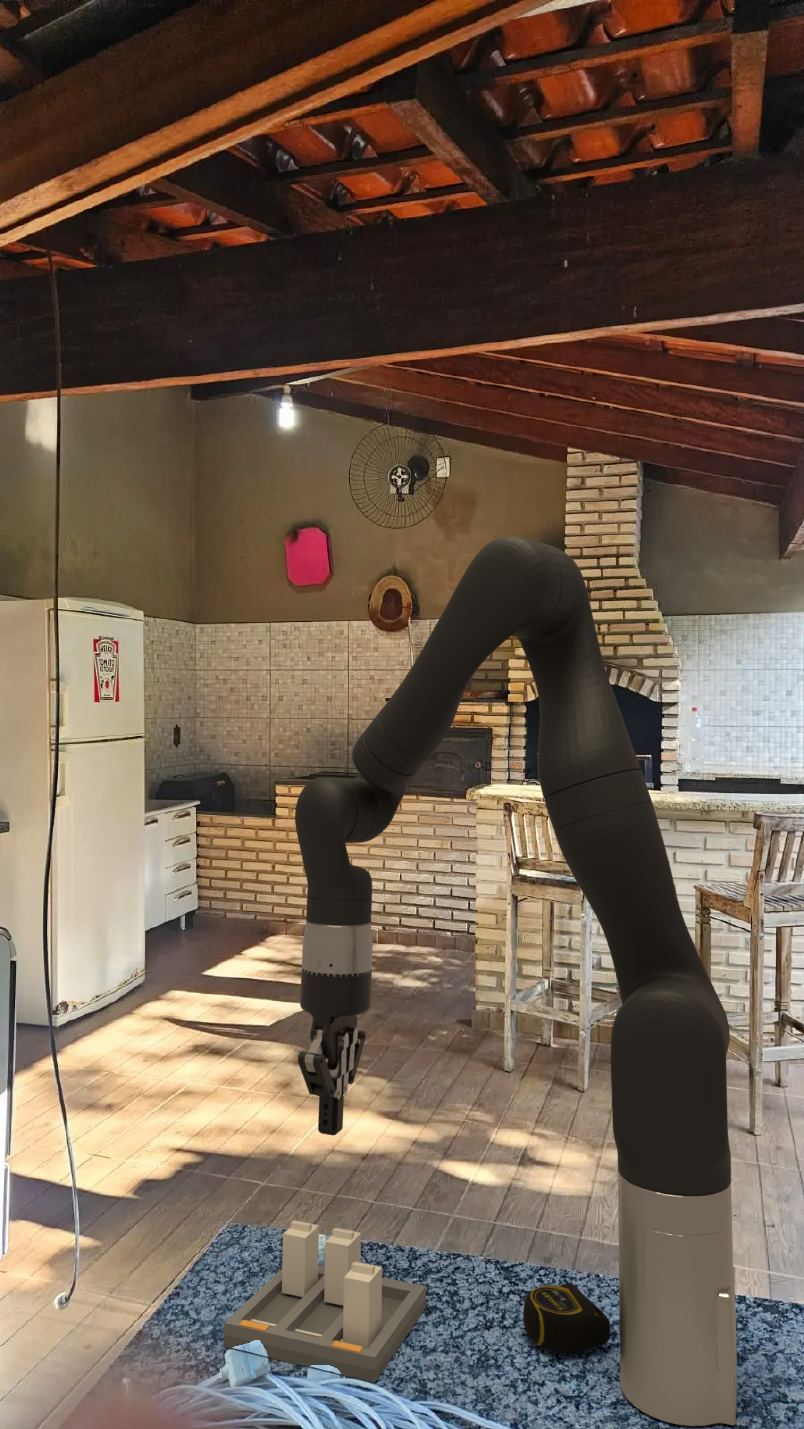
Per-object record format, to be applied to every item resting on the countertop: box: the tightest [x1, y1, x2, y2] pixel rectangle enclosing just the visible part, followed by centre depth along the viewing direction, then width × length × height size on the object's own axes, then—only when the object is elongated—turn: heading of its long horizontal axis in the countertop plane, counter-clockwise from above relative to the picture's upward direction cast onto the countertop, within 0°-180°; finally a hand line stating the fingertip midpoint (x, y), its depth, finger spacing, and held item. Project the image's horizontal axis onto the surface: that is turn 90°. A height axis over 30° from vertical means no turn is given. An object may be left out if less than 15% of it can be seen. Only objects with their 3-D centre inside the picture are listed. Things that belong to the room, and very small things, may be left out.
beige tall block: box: [343, 1262, 383, 1348], centre depth 85 cm, size 2×3×6 cm
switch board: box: [223, 1264, 427, 1384], centre depth 88 cm, size 14×13×2 cm
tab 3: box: [281, 1220, 320, 1297], centre depth 93 cm, size 2×3×6 cm
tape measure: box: [522, 1282, 611, 1355], centre depth 87 cm, size 7×7×4 cm
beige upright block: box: [324, 1227, 362, 1306], centre depth 92 cm, size 2×3×6 cm
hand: (330, 1131), depth 100 cm, fingers closed
